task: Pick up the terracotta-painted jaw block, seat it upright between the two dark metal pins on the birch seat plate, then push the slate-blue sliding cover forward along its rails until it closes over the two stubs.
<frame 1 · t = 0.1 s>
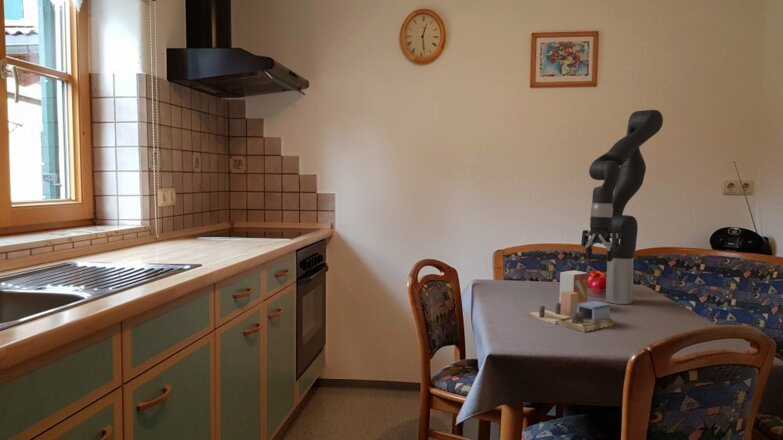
hand: (598, 259, 203), 17 cm above the table, tool pointing down, fingers open, 8 cm apart
pin seat: (549, 318, 186), on the table
jaw block: (568, 315, 190), on the table
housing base: (585, 325, 178), on the table
cover: (593, 311, 180), point 4 cm above the table, slide at 0.0 cm
small box: (572, 308, 202), on the table
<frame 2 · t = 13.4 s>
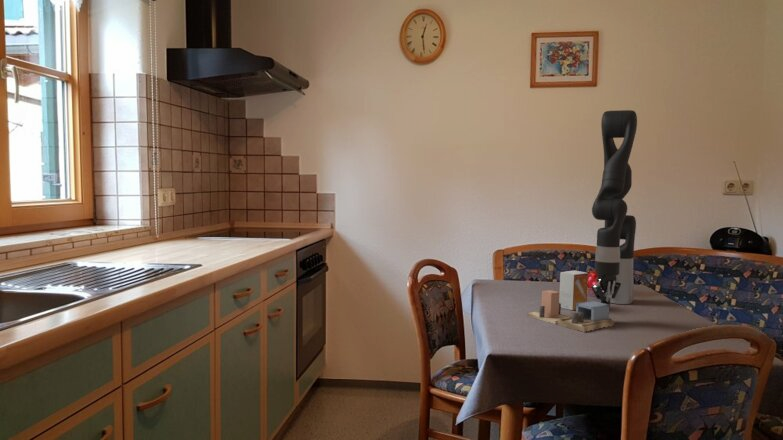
hand: (605, 311, 183), 3 cm above the table, tool pointing down, fingers closed
jaw block: (549, 315, 186), point 1 cm above the table, touching pin seat
cover: (592, 311, 179), point 4 cm above the table, slide at 0.4 cm, touching gripper
everything else where it was.
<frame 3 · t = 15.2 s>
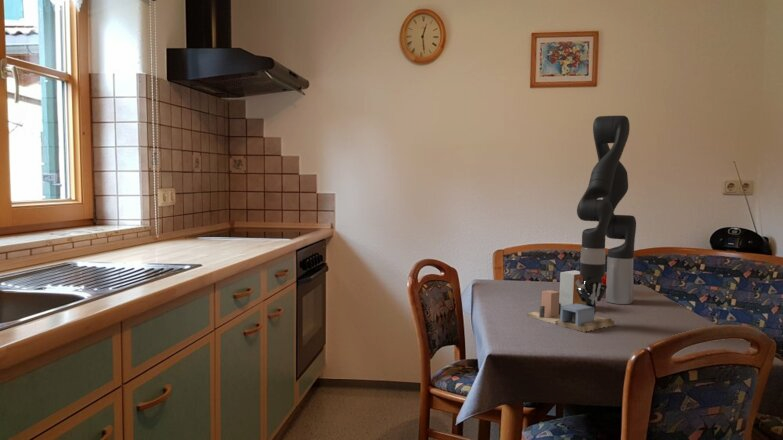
hand: (590, 314, 179), 3 cm above the table, tool pointing down, fingers closed
cover: (577, 314, 175), point 4 cm above the table, slide at 8.0 cm, touching gripper
everything else where it was.
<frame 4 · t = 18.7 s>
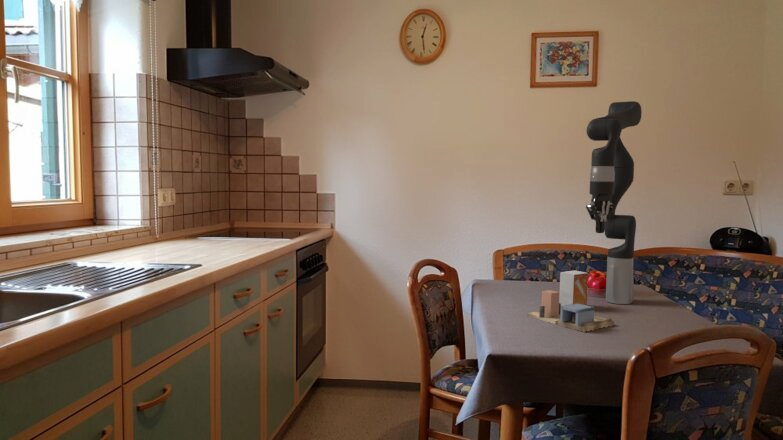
hand: (599, 232, 184), 29 cm above the table, tool pointing down, fingers closed
cover: (577, 314, 175), point 4 cm above the table, slide at 8.0 cm
everything else where it was.
at the end: jaw block inside the target area on the pin seat (0.0 cm from its centre), point 1.0 cm above the pin seat's base; jaw block tilted 0°; cover slide at 8.0 cm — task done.
